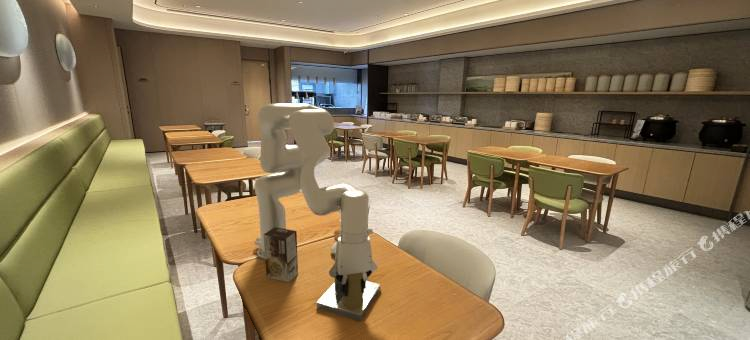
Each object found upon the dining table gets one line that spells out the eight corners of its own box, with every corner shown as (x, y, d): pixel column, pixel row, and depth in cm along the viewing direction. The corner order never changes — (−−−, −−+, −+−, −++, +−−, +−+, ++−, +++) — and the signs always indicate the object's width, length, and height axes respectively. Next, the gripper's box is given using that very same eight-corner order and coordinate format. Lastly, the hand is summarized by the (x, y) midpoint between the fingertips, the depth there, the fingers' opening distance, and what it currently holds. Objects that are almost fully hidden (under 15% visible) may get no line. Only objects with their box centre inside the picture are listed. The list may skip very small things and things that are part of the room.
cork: (347, 310, 89) (348, 275, 87) (340, 298, 95) (340, 265, 92) (367, 305, 92) (368, 271, 90) (358, 293, 97) (359, 261, 95)
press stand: (316, 307, 94) (316, 265, 90) (341, 279, 108) (342, 242, 105) (360, 321, 89) (361, 276, 85) (380, 289, 103) (381, 250, 100)
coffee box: (298, 273, 111) (297, 230, 107) (288, 283, 105) (286, 238, 101) (276, 268, 114) (274, 226, 110) (265, 277, 108) (262, 233, 104)
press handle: (330, 273, 99) (330, 234, 96) (340, 262, 106) (340, 226, 102) (350, 278, 97) (350, 239, 94) (359, 267, 103) (360, 230, 100)
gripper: (378, 226, 94) (376, 280, 99) (321, 232, 89) (322, 289, 93) (387, 237, 87) (384, 295, 92) (326, 244, 82) (326, 305, 86)
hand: (353, 291), depth 92 cm, fingers open, 4 cm apart
